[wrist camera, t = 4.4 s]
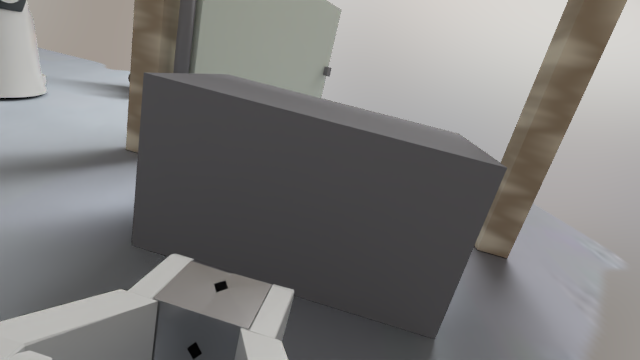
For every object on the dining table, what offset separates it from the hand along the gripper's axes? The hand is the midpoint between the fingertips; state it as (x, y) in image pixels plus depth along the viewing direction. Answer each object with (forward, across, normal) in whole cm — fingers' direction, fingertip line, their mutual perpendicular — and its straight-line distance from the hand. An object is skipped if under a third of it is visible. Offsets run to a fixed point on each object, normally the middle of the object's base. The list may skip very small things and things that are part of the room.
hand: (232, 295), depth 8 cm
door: (+34, -10, -5) cm, 36 cm away
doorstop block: (+12, 0, -6) cm, 14 cm away
